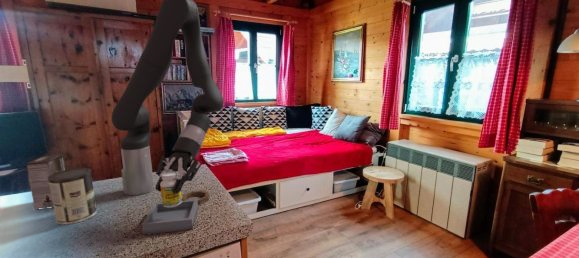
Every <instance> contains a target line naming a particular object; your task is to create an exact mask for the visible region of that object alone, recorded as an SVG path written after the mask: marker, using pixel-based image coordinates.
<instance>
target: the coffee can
mask: <svg viewBox="0 0 579 258" xmlns="http://www.w3.org/2000/svg"><path fill="white" fill-rule="evenodd" d="M48 181H49V185H50V190H51V195H52V201H53V206H54V208H53V211H54V216H55V222H57V223H56V224H58V223H59V224H58V225H64V224H65V225H72V224H77V223H80V222H83V221H84V222H85V221H86V220H88V219H90V218H92V217H94V216H96V215H97V213H98V209H97V204H96V202H97V201H96V198H95V190H94V183H93V177H92V169H91V168H87V167H78V168H71V169H66V170H64V171H60V172H57V173H54V174H52V175H50V176H48Z"/></svg>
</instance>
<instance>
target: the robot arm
mask: <svg viewBox="0 0 579 258" xmlns="http://www.w3.org/2000/svg"><path fill="white" fill-rule="evenodd" d="M199 13H200V12H199V9H198V5H197V3H196V2H195V1H194V0H162V1H161V4H160V6H159V10H158V13H157V16H156V20H155V23H154V26H153V29H152V32H151V33H150V35H149V38H148V39H147V42H146V43H145V44H146V45H145V47H144V48H143V51H142V53H141V54H140V57H139V58H138V61H137V64H136V65H135V68H134V71H133V73H132V75H131V76H130V80H129V81H128V84H127V86H126V88H125V90H124V91H123V93H122V95H121V97H120V98H119V100H118V101H117V103H116V104H115V106H114V108H113V110H112V112H111V123H112V126H113V127H114V128H115V129H117V130H118V131H125V132H127V133H126V135H125V136H124V137H123V138H122V139H121V140H120V143H119V144H120V152H121V159H122V160H121V161H122V168H121V170H120V171H121V179H122V186H123V194H124V195H128V196H139V195H144V194H148V193H149V192H152V191H154V189H155V190H156V191H157V192H160V193H161V187H160V183H161V182H162V181H163V180H162V174H163V173H166V172H171V171H174V172H176V173H177V172H178V176H177V178H178V179H179V180H177V181H176V183H175V185H174V187H173V189H172V192H173V193H175V194H178V193H179V192H180V191H181V192H182V189H183V187H184V184H185V183H186V182H192V181H193V179H194V178H195V176H196V174H197V173H198V171H199V169H200V168H201V166H202V164H201V163H200V162H199V161H198V160H196V159H197V158H198V155H199V152H200V151H201V147H202V145H203V143H204V141H205V138H206V134H207V132H208V131H209V128H210V126H211V118H210V117H209V115H208V114H210V113H211V114H212V113H217V112H220V111H221V110H223V107H224V97H223V95H222V93H221V91H220V89H219V88H218V86H217V85H216V83H215V81H214V79H213V75H212V72H211V69H210V66H209V62H208V57H207V55H206V51H205V46H204V42H203V37H202V29H201V24H200V23H201V22H200V20H201V19H200V15H199ZM180 30H181V33H182V36H183V40H184V45H185V46H184V47H185V60H186V66H187V70H188V74H189V77H190V79H191V84H192V86H193V87H194V88H200V89H201V90H202V92H203V93H200V94H198V95H197V96H195V98H194V99H193V101H192V105H191V109H190V116H189V119H188V120H187V122H186V124H185V126H184V127H183V129H182V130H181V132H180V134H179V136H178V138H177V140H176V142H175V144H174V146H173V147H172V154H171V155H170V156H169V157H166V158H165V157H164V156H162V157H160V160H159V161H158V162H159V163H158V165H157V168H156V171H155V174H156V176H159V178H158V180H157V182H156V183H155V186H154V176H153V167H152V166H153V165H152V157H151V149H150V141H151V140H150V139H151V136H152V132H151V118H150V113H149V111H148V108H147V107H146V106H145V105H144V102H145V101H146V100H147V98H148V97H149V96H150V95H151V94H152V93H153V92H154V91H155V90H156V89H157V88H158V87H159V86H160V85H161V83H162V82H163V81H164V80H165V78H166V75H167V73H168V72H169V69H170V68H171V65H172V61H173V50H174V44H175V40H176V37H177V36H178V34H179V32H180Z"/></svg>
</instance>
